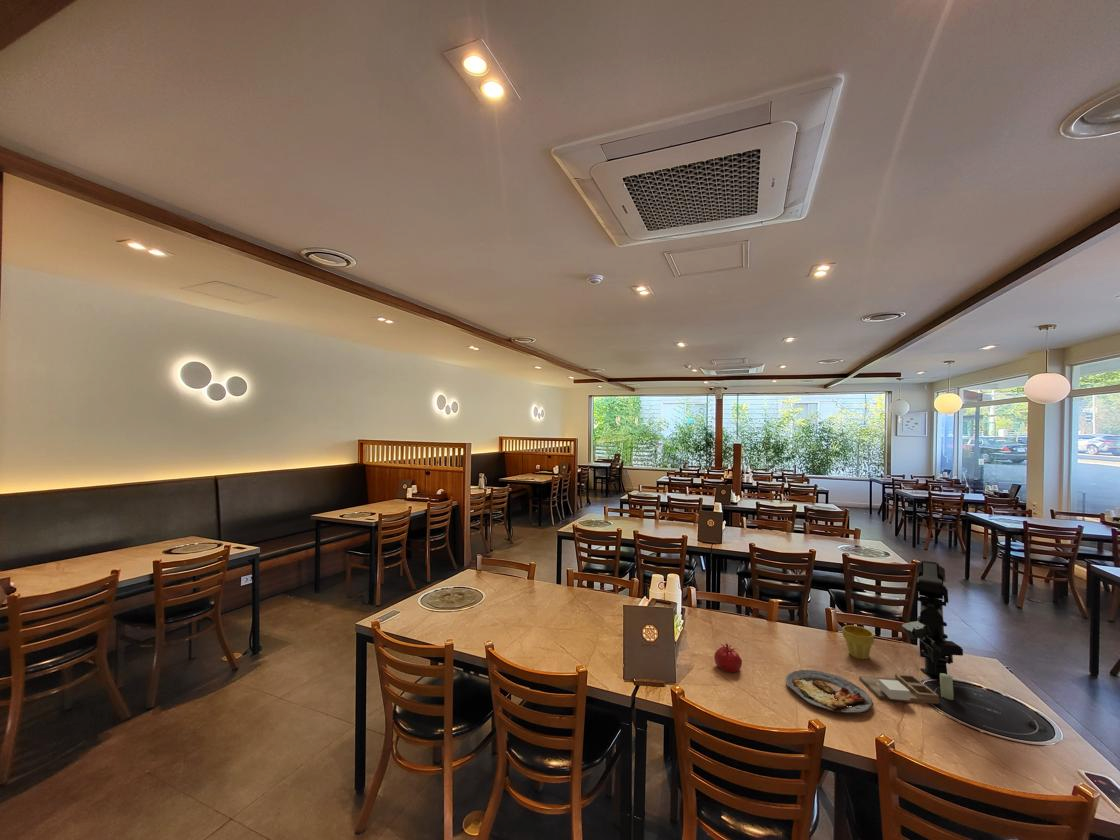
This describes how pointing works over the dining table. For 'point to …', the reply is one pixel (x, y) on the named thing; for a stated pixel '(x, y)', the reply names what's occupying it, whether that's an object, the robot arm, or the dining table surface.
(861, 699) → the food plate
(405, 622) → the dining table surface
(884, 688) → the cover
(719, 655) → the pomegranate
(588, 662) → the dining table surface
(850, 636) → the plant pot
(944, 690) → the peg
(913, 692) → the board
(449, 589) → the dining table surface
